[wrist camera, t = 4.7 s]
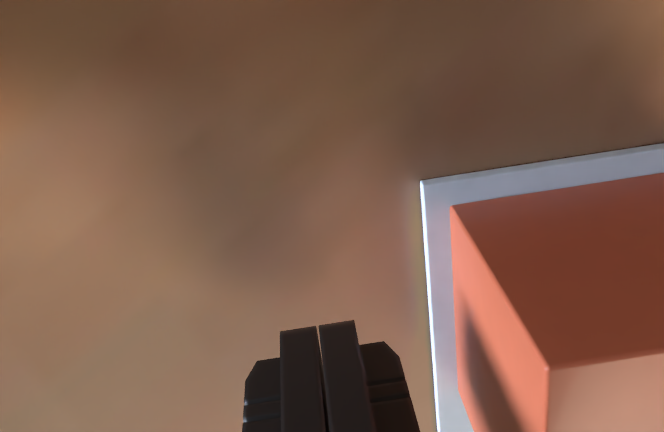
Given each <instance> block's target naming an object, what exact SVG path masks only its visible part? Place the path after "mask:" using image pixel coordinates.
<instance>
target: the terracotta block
mask: <svg viewBox="0 0 664 432" xmlns="http://www.w3.org/2000/svg"><path fill="white" fill-rule="evenodd" d="M449 210H450V231H451V252H452V273H453V295H454V316H455V337H456V358H457V379H458V391H459V394H460V396H461V399H462V402H463V404H464V407H465V410H466V412H467V415H468V417H469V420H470V423H471V425H472V428H473V430H474V432H664V173H657V174H651V175H644V176H638V177H631V178H625V179H618V180H612V181H605V182H599V183H592V184H586V185H580V186H573V187H567V188H560V189H554V190H547V191H541V192H534V193H528V194H521V195H515V196H508V197H502V198H495V199H489V200H482V201H476V202H469V203H463V204H456V205H452V206H450V209H449Z"/></svg>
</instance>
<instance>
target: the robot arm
mask: <svg viewBox="0 0 664 432" xmlns="http://www.w3.org/2000/svg"><path fill="white" fill-rule="evenodd" d="M319 333H320V343H321V352H322V358H321V352H320V346H319V340H318V334H317V329H316V326H312V327H306V328H299V329H293V330H286V331H280V358H273V359H267V360H260V361H257V362H256V364H255V366H254V367H253V369H252V371H251V372H250V374H249V376H248V377H247V379H246V381H245V397H244V403H245V406H244V413H243V422H244V423H243V428H242V432H420V430H419V426H418V422H417V419H416V415H415V412H414V408H413V404H412V401H411V397H410V395H409V390H408V387H407V383H406V381H405V376H404V372H403V369H402V365H401V362H400V358H399V356H398V355H397V354H396V353H395V352H394V351H393V350H392V349H391V348H390V347H389V346H388V345H387V344H386V343H385V342H384V341H383V342H377V343H370V344H364V345H359V343H358V338H357V333H356V328H355V323H354V320H351V321H344V322H338V323H331V324H325V325H319ZM322 362H323V364H322Z"/></svg>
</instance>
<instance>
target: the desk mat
mask: <svg viewBox="0 0 664 432" xmlns="http://www.w3.org/2000/svg"><path fill="white" fill-rule="evenodd" d="M657 173H664V143H661V144H654V145H648V146H641V147H635V148H628V149H622V150H615V151H609V152H602V153H596V154H589V155H583V156H576V157H570V158H563V159H557V160H550V161H544V162H537V163H531V164H524V165H518V166H511V167H505V168H498V169H492V170H485V171H479V172H472V173H466V174H459V175H453V176H446V177H440V178H433V179H427V180H421V181H420V190H421V205H422V219H423V233H424V247H425V262H426V276H427V290H428V304H429V318H430V333H431V347H432V361H433V375H434V390H435V404H436V418H437V432H474V430H473V428H472V425H471V423H470V420H469V417H468V415H467V412H466V410H465V407H464V404H463V402H462V399H461V396H460V394H459V391H458V379H457V358H456V337H455V316H454V295H453V273H452V252H451V231H450V210H449V209H450V206H452V205H456V204H463V203H469V202H476V201H482V200H489V199H495V198H502V197H508V196H515V195H521V194H528V193H534V192H541V191H547V190H554V189H560V188H567V187H573V186H580V185H586V184H592V183H599V182H605V181H612V180H618V179H625V178H631V177H638V176H644V175H651V174H657Z"/></svg>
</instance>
